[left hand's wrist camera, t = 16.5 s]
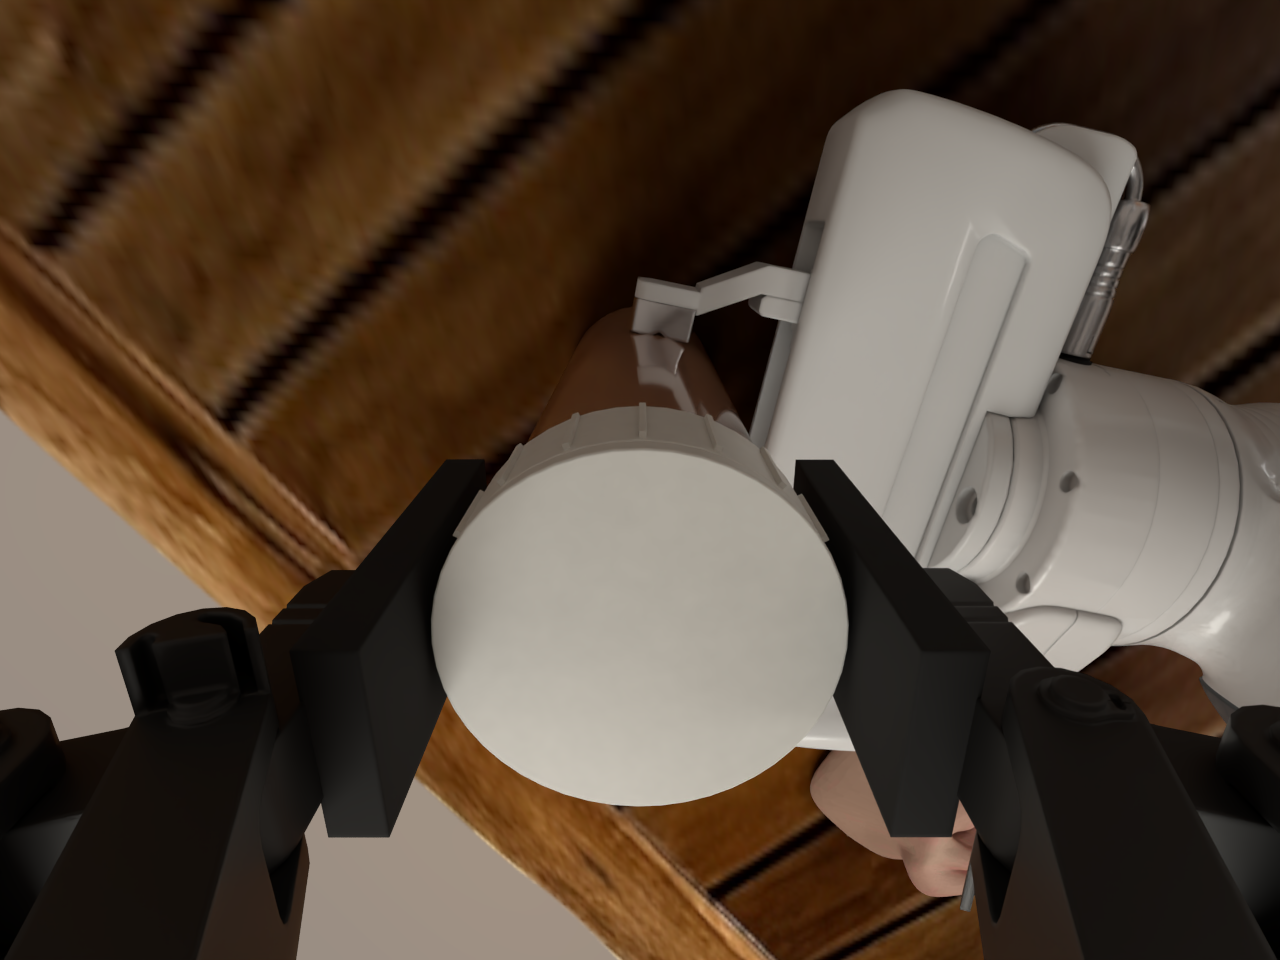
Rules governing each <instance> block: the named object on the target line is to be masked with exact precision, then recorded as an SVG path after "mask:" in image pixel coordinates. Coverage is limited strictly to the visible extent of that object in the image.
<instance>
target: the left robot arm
mask: <svg viewBox="0 0 1280 960" xmlns="http://www.w3.org/2000/svg"><path fill="white" fill-rule="evenodd" d="M486 489H487V485H486V473H485V461H484V460H446V461H445V462H444V463H443V464H442V466H441V467H440V468H439V469H438V470H437V472H436V473H435V474H434V475H433V477H432V478H431V479H430V480H429V481H428V483H427V484H426V485H425V486H424V487H423V489H422V490H421V491H420V492H419V494H418V495H417V496H416V497H415V498H414V500H413V501H412V502H411V503H410V505H409V506H408V507H407V508H406V509H405V511H404V512H403V513H402V514H401V515H400V517H399V518H398V519H397V520H396V522H395V523H394V524H393V525H392V526H391V528H390V529H389V530H388V531H387V533H386V534H385V535H384V536H383V537H382V539H381V540H380V541H379V542H378V543H377V545H376V546H375V547H374V548H373V550H372V551H371V552H370V553H369V554H368V556H367V557H366V558H365V559H364V560H363V562H362V563H361V564H360V565H359V567H358V568H357V569H356V570H331V571H330V572H328V573H326V574H324V575H323V576H321V577H319V578H317V579H316V580H314V581H312V582H310V583H309V584H307V585H305V586H304V587H303V588H302V589H301V590H300V591H299V592H298V593H297V594H296V595H295V597H294V598H293V599H292V600H291V601H290V602H289V603H288V604H287V608H286V609H282V611H281V612H280V613H279V614H278V615H277V616H276V617H275V618H274V619H273V620H272V624H269V625H268V626H267V627H266V628H265V629H264V630H263V631H262V632H261V633H260V634H259V631H258V627H257V623H256V618H255V617H254V616H252V615H251V614H249V613H248V612H247V611H245V610H240V609H234V608H229V607H222V608H205V609H199V610H195V611H191V612H186V613H181V614H177V615H174V616H171V617H169V618H166V619H163V620H161V621H158V622H156V623H153V624H151V625H149V626H147V627H145V628H143V629H142V630H140V631H138V632H137V633H135V634H133V635H131V636H130V637H128V638H127V639H126V640H125V641H124V642H123V643H122V644H121V645H120V646H119V647H118V648H117V649H116V650H115V653H116V656H117V660H118V663H119V666H120V669H121V672H122V675H123V679H124V682H125V685H126V688H127V691H128V694H129V697H130V701H131V704H132V707H133V710H134V713H135V717H134V719H133V721H132V722H131V724H130V726H129V727H128V728H124V729H119V730H114V731H109V732H104V733H99V734H94V735H89V736H84V737H79V738H74V739H69V740H64V741H59V739H58V737H57V734H56V731H55V728H54V726H53V723H52V720H51V718H50V717H49V716H48V715H46V714H45V713H43V712H42V711H40V710H37V709H25V708H14V709H7V710H1V711H0V960H296V956H297V949H298V942H299V935H300V928H301V921H302V914H303V907H304V900H305V892H306V885H307V878H308V871H309V864H310V862H309V854H308V847H307V843H306V839H305V834H304V832H305V831H306V829H307V827H308V825H309V823H310V822H311V820H312V818H313V816H314V814H315V812H316V811H317V809H318V807H319V805H320V803H321V805H322V809H323V814H324V819H325V824H326V828H327V833H328V837H390V834H391V832H392V830H393V827H394V825H395V822H396V820H397V817H398V815H399V812H400V810H401V808H402V805H403V803H404V800H405V798H406V795H407V793H408V790H409V788H410V786H411V783H412V781H413V778H414V776H415V773H416V771H417V768H418V766H419V764H420V761H421V759H422V756H423V754H424V751H425V749H426V746H427V744H428V742H429V739H430V737H431V734H432V732H433V729H434V727H435V724H436V722H437V720H438V717H439V715H440V712H441V710H442V707H443V705H444V702H445V700H446V698H447V694H446V692H445V690H444V688H443V685H442V682H441V679H440V676H439V673H438V671H437V668H436V663H435V658H434V653H433V647H432V637H431V614H432V606H433V598H434V593H435V590H436V586H437V583H438V579H439V575H440V572H441V570H442V568H443V565H444V563H445V561H446V559H447V557H448V555H449V552H450V550H451V548H452V547H453V545H454V543H455V541H456V540H457V538H456V537H454V536H453V534H454V532H455V530H456V528H457V527H458V525H459V523H460V522H461V520H462V518H463V517H464V515H465V513H466V512H467V510H468V508H469V507H470V505H471V503H472V502H473V500H474V498H475V497H476V495H477V494H478V492H479V490H482V491H484V492H485V490H486ZM793 489H794V491H795V493H796V494H797V496H798V495H800V494H803V496H804V498H805V499H806V501H807V503H808V504H809V506H810V508H811V509H812V511H813V513H814V514H815V516H816V518H817V519H818V521H819V523H820V524H821V526H822V528H823V529H824V531H825V533H826V534H827V536H828V538H829V540H828V541H826V542H824V543H825V544H826V546H827V548H828V549H829V551H830V553H831V555H832V557H833V560H834V562H835V564H836V567H837V569H838V572H839V574H840V576H841V580H842V584H843V588H844V592H845V596H846V600H847V610H848V621H849V629H848V645H847V651H846V656H845V661H844V665H843V670H842V673H841V676H840V678H839V681H838V684H837V686H836V689H835V692H834V694H833V698H834V700H835V702H836V705H837V707H838V710H839V712H840V715H841V717H842V720H843V722H844V724H845V727H846V729H847V732H848V734H849V737H850V739H851V742H852V744H853V747H854V749H855V751H856V754H857V756H858V759H859V761H860V764H861V766H862V769H863V771H864V773H865V776H866V778H867V781H868V783H869V786H870V788H871V791H872V793H873V795H874V798H875V800H876V803H877V805H878V808H879V810H880V813H881V815H882V817H883V820H884V822H885V825H886V827H887V830H888V832H889V835H890V837H952V833H953V828H954V824H955V819H956V814H957V809H958V805H959V800H960V802H961V803H962V805H963V807H964V809H965V811H966V812H967V814H968V816H969V818H970V820H971V821H972V823H973V825H974V827H975V829H976V834H975V839H974V843H973V847H972V852H971V856H970V861H969V865H968V869H967V874H966V878H965V883H964V887H963V891H962V897H961V905H960V909H961V910H965V911H969V912H970V910H971V905H972V901H973V897H974V895H975V898H976V905H977V912H978V919H979V926H980V933H981V940H982V947H983V954H984V960H1280V707H1276V706H1269V705H1252V706H1242V707H1240V708H1239V709H1237V710H1236V711H1234V712H1233V713H1232V714H1231V715H1230V717H1229V720H1228V723H1227V726H1226V728H1225V731H1224V734H1223V736H1222V738H1218V737H1213V736H1208V735H1203V734H1197V733H1192V732H1187V731H1182V730H1177V729H1172V728H1167V727H1162V726H1158V725H1154V724H1150V723H1149V721H1148V719H1147V717H1146V716H1145V714H1144V713H1143V712H1142V711H1141V709H1140V708H1139V707H1138V706H1137V705H1136V703H1135V702H1134V701H1133V700H1132V699H1131V698H1129V697H1128V696H1126V695H1125V694H1123V693H1122V692H1120V691H1119V690H1118V689H1116V688H1115V687H1113V686H1112V685H1110V684H1107V683H1105V682H1103V681H1100V680H1098V679H1096V678H1094V677H1091V676H1089V675H1087V674H1083V673H1079V672H1075V671H1071V670H1068V669H1064V668H1055V667H1054V666H1053V665H1052V664H1051V663H1050V662H1049V661H1048V660H1047V659H1046V658H1045V657H1044V656H1043V655H1042V653H1041V652H1040V651H1039V650H1038V649H1037V648H1036V647H1035V646H1034V645H1033V644H1032V643H1031V642H1030V641H1029V640H1028V638H1027V637H1026V636H1025V635H1024V634H1023V633H1022V632H1021V631H1020V630H1019V629H1018V628H1017V627H1016V626H1015V625H1014V624H1013V622H1008V617H1007V616H1006V615H1005V614H1004V613H1003V612H1002V611H1001V610H1000V609H999V607H998V606H994V602H993V601H992V600H991V599H990V598H989V597H988V596H987V595H986V594H985V593H984V591H983V590H982V589H981V588H980V587H979V586H978V585H977V584H976V583H974V582H972V581H971V580H969V579H967V578H965V577H964V576H962V575H960V574H958V573H957V572H955V571H953V570H951V569H950V568H922V567H921V565H920V564H919V563H918V562H917V561H916V559H915V558H914V557H913V556H912V554H911V553H910V552H909V551H908V550H907V548H906V547H905V546H904V545H903V543H902V542H901V541H900V540H899V539H898V537H897V536H896V535H895V534H894V533H893V531H892V530H891V529H890V528H889V526H888V525H887V524H886V523H885V522H884V520H883V519H882V518H881V517H880V515H879V514H878V513H877V512H876V511H875V509H874V508H873V507H872V506H871V505H870V503H869V502H868V501H867V500H866V498H865V497H864V496H863V495H862V494H861V492H860V491H859V490H858V489H857V488H856V486H855V485H854V484H853V483H852V481H851V480H850V479H849V478H848V477H847V475H846V474H845V473H844V472H843V470H842V469H841V468H840V467H839V466H838V464H837V463H836V462H835V461H834V460H796V461H795V473H794V485H793Z"/></svg>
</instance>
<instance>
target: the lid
mask: <svg viewBox="0 0 1280 960" xmlns="http://www.w3.org/2000/svg"><path fill="white" fill-rule="evenodd" d="M453 536H454V537H456V538H457V540H456V541H455V543H454V545H453V547H452V548H451V550H450V552H449V555H448V557H447V559H446V561H445V563H444V565H443V568H442V570H441V572H440V575H439V579H438V583H437V586H436V590H435V593H434V598H433V606H432V614H431V637H432V647H433V653H434V658H435V663H436V668H437V671H438V673H439V676H440V679H441V682H442V685H443V688H444V690H445V692H446V694H447V696H448V698H449V700H450V702H451V704H452V706H453V708H454V710H455V711H456V712H457V714H458V715H459V717H460V718H461V720H462V721H463V723H464V724H465V725H466V727H467V728H468V729H469V730H470V732H471V733H472V734H473V735H474V736H475V737H476V738H477V739H478V740H479V741H480V743H481V744H482V745H483V746H484V747H485V748H487V749H488V750H489V751H490V752H491V753H492V754H494V755H495V756H496V757H497V758H498V759H499V760H501V761H502V762H503V763H505V764H506V765H508V766H509V767H511V768H512V769H514V770H515V771H517V772H518V773H520V774H521V775H523V776H525V777H527V778H529V779H531V780H533V781H535V782H537V783H539V784H540V785H542V786H545V787H548V788H550V789H553V790H555V791H558V792H560V793H563V794H566V795H569V796H573V797H577V798H580V799H584V800H588V801H593V802H599V803H606V804H612V805H626V806H654V805H667V804H674V803H681V802H687V801H691V800H695V799H699V798H703V797H707V796H711V795H714V794H716V793H719V792H722V791H725V790H727V789H730V788H733V787H735V786H737V785H739V784H741V783H743V782H745V781H747V780H749V779H751V778H753V777H755V776H757V775H758V774H760V773H761V772H763V771H764V770H766V769H768V768H769V767H771V766H772V765H774V764H775V763H776V762H778V761H779V760H780V759H781V758H782V757H784V756H785V755H786V754H787V753H789V752H790V751H791V750H792V749H793V748H794V747H795V746H796V745H797V744H798V743H799V742H800V741H801V740H802V739H803V738H804V737H805V736H806V735H807V734H808V733H809V731H810V730H811V729H812V727H813V726H814V725H815V723H816V722H817V721H818V719H819V718H820V717H821V715H822V714H823V712H824V710H825V709H826V707H827V705H828V703H829V701H830V699H831V698H832V696H833V694H834V692H835V689H836V686H837V684H838V681H839V678H840V676H841V673H842V670H843V665H844V661H845V656H846V651H847V645H848V629H849V621H848V610H847V600H846V596H845V592H844V588H843V584H842V580H841V576H840V574H839V572H838V569H837V567H836V564H835V562H834V560H833V557H832V555H831V553H830V551H829V549H828V548H827V546H826V544H825V543H824V542H826V541H828V540H829V538H828V536H827V534H826V533H825V531H824V529H823V528H822V526H821V524H820V523H819V521H818V519H817V518H816V516H815V514H814V513H813V511H812V509H811V508H810V506H809V504H808V503H807V501H806V499H805V498H804V496H803V494H800V495H798V496H797V494H796V493H795V491H794V489H793V488H792V486H791V484H790V483H789V481H788V480H787V478H786V477H785V475H784V474H783V473H782V472H781V471H780V469H779V468H778V467H777V466H776V464H775V462H774V461H773V459H772V457H771V455H770V454H769V452H768V450H767V449H766V448H765V447H764V446H763V447H762V448H761V449H759V448H758V447H757V446H756V445H754V444H753V443H751V442H750V441H749V440H747V439H746V438H744V437H743V436H741V435H740V434H738V433H737V432H735V431H733V430H731V429H729V428H727V427H725V426H723V425H721V424H719V423H717V422H715V421H714V420H713V417H712V416H711V415H708V414H706V415H705V417H702V416H699V415H696V414H693V413H689V412H685V411H680V410H675V409H670V408H662V407H649V406H646V403H639V406H632V407H616V408H611V409H605V410H600V411H594V412H591V413H587V414H584V415H581V416H580V415H579V413H578V412H577V413H574V414H572V417H571V419H569V420H567V421H565V422H563V423H560V424H558V425H556V426H554V427H552V428H550V429H548V430H546V431H545V432H543V433H542V434H540V435H539V436H537V437H535V438H534V439H532V440H531V441H529V442H528V443H527V444H526V445H524V446H523V445H522V444H521V443H520V444H519V445H517V446H516V447H515V449H514V451H513V453H512V455H511V456H510V458H509V460H508V461H507V462H506V463H505V464H504V466H503V467H502V468H501V469H500V470H499V471H498V472H497V473H496V475H495V476H494V478H493V479H492V481H491V482H490V484H489V486H488V487H487V489H486V490H485V492H484V491H482V490H479V492H478V494H477V495H476V497H475V498H474V500H473V502H472V503H471V505H470V507H469V508H468V510H467V512H466V513H465V515H464V517H463V518H462V520H461V522H460V523H459V525H458V527H457V528H456V530H455V532H454V534H453Z"/></svg>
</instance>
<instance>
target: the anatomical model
mask: <svg viewBox="0 0 1280 960" xmlns="http://www.w3.org/2000/svg"><path fill="white" fill-rule="evenodd" d="M810 791H811V795H812V798H813V800H814V802H815V803H816V805H817V806H818V807H819V809H820V810H821V811H822V812H823V813H824V814H825V815H826V816H827V817H828V818H829V819H830V820H831V821H832V822H833V823H834V824H836V825H837V826H838V827H839V828H840V829H841V830H842V831H843V832H844V833H846V834H847V835H848V836H849V837H851V838H852V839H854V840H855V841H857V842H858V843H860V844H861V845H863V846H865V847H866V848H868V849H869V850H871V851H873V852H875V853H876V854H879V855H881V856H884V857H887V858H892V859H903V861H904V864H905V867H906V869H907V872H908V874H909V877H910V879H911V881H912V882H913V884H914V885H915V886H916V888H917V889H918V890H919V891H921V892H922V893H924V894H926V895H929V896H935V897H945V896H955V895H962V891H963V887H964V883H965V878H966V874H967V869H968V865H969V861H970V856H971V852H972V847H973V843H974V839H975V834H976V829H975V827H974V825H973V823H972V821H971V820H970V818H969V816H968V814H967V812H966V811H965V809H964V807H963V805H962V803H961V802H960V800H959V805H958V809H957V814H956V819H955V824H954V828H953V833H952V837H890V835H889V832H888V830H887V827H886V825H885V822H884V820H883V817H882V815H881V813H880V810H879V808H878V805H877V803H876V800H875V798H874V795H873V793H872V791H871V788H870V786H869V783H868V781H867V778H866V776H865V773H864V771H863V769H862V766H861V764H860V761H859V759H858V756H857V754H856V751H839V750H832V751H831V752H830V753H829V754H828V756H827V757H826V758H825V759H824V761H823V762H822V763H821V764H820V766H819V767H818V768H817V770H816V772H815V773H814V776H813V778H812V780H811V785H810Z"/></svg>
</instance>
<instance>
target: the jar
mask: <svg viewBox="0 0 1280 960" xmlns="http://www.w3.org/2000/svg"><path fill="white" fill-rule="evenodd" d="M631 313H632V307H629V308H624V309H620V310H617V311H614V312H612V313H610V314H608V315H606V316H604V317H603V318H601V319H599V320H598V321H597V322H596V323H594V324H593V325H592V326H591V327H590V328H589V329H588V330H587V331H586V333H585V334H584V336H583V337H582V338H581V340H580V342H579V344H578V346H577V347H576V349H575V351H574V353H573V355H572V357H571V359H570V361H569V363H568V365H567V367H566V369H565V371H564V373H563V375H562V376H561V378H560V380H559V382H558V384H557V386H556V388H555V390H554V392H553V394H552V396H551V398H550V400H549V402H548V404H547V405H546V407H545V409H544V411H543V413H542V415H541V417H540V419H539V421H538V423H537V425H536V427H535V429H534V431H533V433H532V434H531V436H530V438H529V440H528V442H529V441H531V440H532V439H534V438H535V437H537V436H539V435H540V434H542V433H543V432H545V431H546V430H548V429H550V428H552V427H554V426H556V425H558V424H560V423H563V422H565V421H567V420H569V419H571V417H572V414H574V413H577V412H578V413H579V415H580V416H581V415H584V414H587V413H591V412H594V411H600V410H605V409H611V408H616V407H632V406H639V403H646V406H649V407H662V408H670V409H675V410H680V411H685V412H689V413H693V414H696V415H699V416H702V417H705V415H706V414H708V415H711V416H712V417H713V420H714V421H715V422H717V423H719V424H721V425H723V426H725V427H727V428H729V429H731V430H733V431H735V432H737V433H738V434H740V435H741V436H743V437H744V438H746V439H747V440H749V441H750V442H751V443H753V442H752V440H751V438H750V436H749V434H748V432H747V431H746V429H745V427H744V425H743V423H742V421H741V419H740V417H739V415H738V413H737V411H736V409H735V407H734V405H733V403H732V401H731V399H730V397H729V396H728V394H727V392H726V390H725V388H724V386H723V384H722V382H721V380H720V378H719V376H718V374H717V372H716V370H715V368H714V366H713V364H712V362H711V361H710V359H709V357H708V355H707V353H706V351H705V349H704V347H703V345H702V343H701V341H700V340H699V338H698V337H697V335H696V334H695V333H694V331H693V330H692V329H691V333H690V338H689V342H688V343H686V342H680V341H675V340H672V339H669V338H665V337H664V336H663V335H662V334H661V333H660V332H658V333H656V334H654V335H648V334H640V333H637V332H633V331H631V330H629V324H630V318H631ZM528 442H527V443H528Z"/></svg>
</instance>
